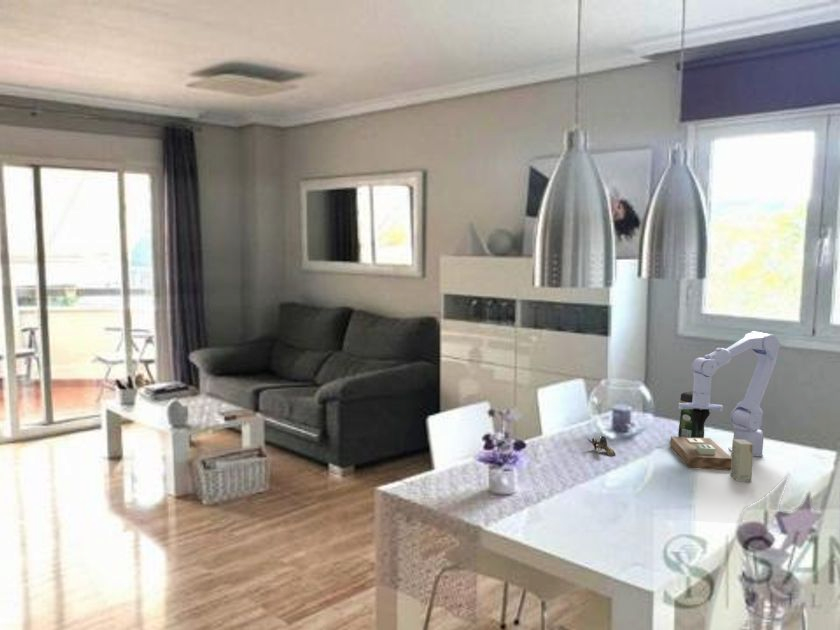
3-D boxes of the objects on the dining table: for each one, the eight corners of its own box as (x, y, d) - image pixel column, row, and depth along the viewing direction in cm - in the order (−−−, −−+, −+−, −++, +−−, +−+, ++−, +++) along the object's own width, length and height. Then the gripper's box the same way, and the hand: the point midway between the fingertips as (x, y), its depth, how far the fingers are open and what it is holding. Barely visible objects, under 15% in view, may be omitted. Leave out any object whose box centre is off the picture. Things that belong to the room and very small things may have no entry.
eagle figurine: (584, 449, 252) (604, 450, 244) (589, 430, 254) (609, 432, 247) (597, 457, 255) (617, 459, 248) (602, 439, 258) (622, 441, 250)
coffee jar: (688, 434, 278) (692, 387, 276) (707, 439, 272) (710, 391, 270) (674, 437, 272) (677, 390, 270) (692, 442, 266) (695, 394, 264)
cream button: (699, 447, 256) (700, 438, 255) (703, 451, 251) (704, 441, 250) (685, 446, 256) (686, 437, 256) (689, 450, 251) (690, 441, 251)
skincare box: (751, 482, 224) (754, 444, 223) (738, 481, 224) (740, 444, 223) (743, 475, 230) (745, 438, 229) (729, 475, 230) (732, 438, 229)
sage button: (710, 454, 244) (711, 444, 243) (714, 458, 239) (715, 448, 238) (695, 453, 244) (696, 443, 244) (700, 457, 239) (700, 447, 239)
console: (709, 448, 259) (709, 438, 258) (731, 470, 235) (732, 458, 235) (670, 446, 260) (670, 436, 260) (688, 468, 236) (689, 456, 236)
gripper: (683, 393, 244) (680, 431, 246) (726, 395, 243) (723, 434, 244) (678, 389, 251) (675, 426, 253) (720, 391, 250) (717, 428, 251)
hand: (699, 429), depth 249 cm, fingers closed
